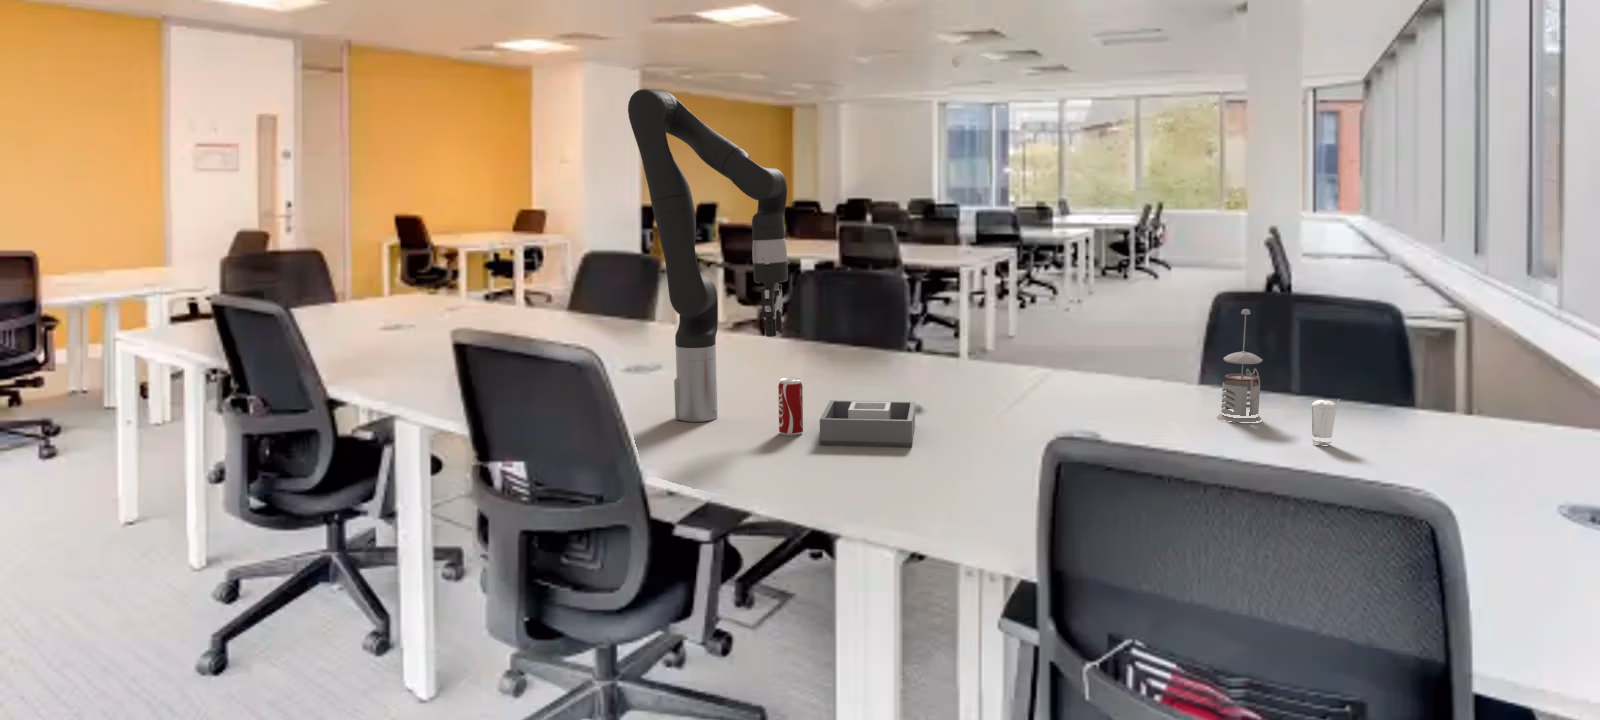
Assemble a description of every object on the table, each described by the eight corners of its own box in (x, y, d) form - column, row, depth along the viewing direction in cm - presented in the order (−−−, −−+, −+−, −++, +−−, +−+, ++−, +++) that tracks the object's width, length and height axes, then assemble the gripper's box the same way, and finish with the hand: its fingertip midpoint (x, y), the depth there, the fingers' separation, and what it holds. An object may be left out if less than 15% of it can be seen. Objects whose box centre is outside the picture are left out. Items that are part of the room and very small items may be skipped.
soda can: (800, 436, 220) (799, 381, 218) (776, 435, 222) (775, 381, 220) (805, 431, 226) (804, 377, 224) (782, 430, 227) (781, 376, 225)
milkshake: (1327, 449, 205) (1331, 400, 203) (1303, 443, 209) (1307, 395, 208) (1342, 446, 207) (1346, 397, 205) (1318, 440, 211) (1322, 393, 210)
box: (819, 445, 213) (819, 416, 212) (830, 424, 232) (830, 398, 231) (911, 447, 210) (912, 418, 209) (915, 425, 229) (915, 399, 228)
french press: (1250, 413, 237) (1257, 305, 233) (1275, 425, 225) (1282, 312, 221) (1208, 414, 236) (1214, 306, 232) (1231, 426, 225) (1237, 312, 221)
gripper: (758, 259, 232) (762, 330, 235) (747, 263, 218) (752, 338, 221) (791, 257, 231) (795, 329, 234) (782, 261, 217) (786, 337, 220)
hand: (774, 333), depth 227 cm, fingers open, 8 cm apart
